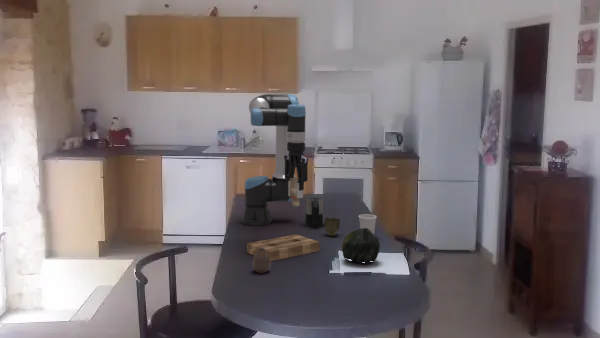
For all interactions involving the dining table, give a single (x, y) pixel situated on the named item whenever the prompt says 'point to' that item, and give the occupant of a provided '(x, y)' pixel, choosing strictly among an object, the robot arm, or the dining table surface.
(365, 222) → the dixie cup
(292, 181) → the beech peg
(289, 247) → the oak board
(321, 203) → the milk frother
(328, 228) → the wire cup brush
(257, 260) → the vase
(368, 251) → the squash
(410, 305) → the dining table surface
